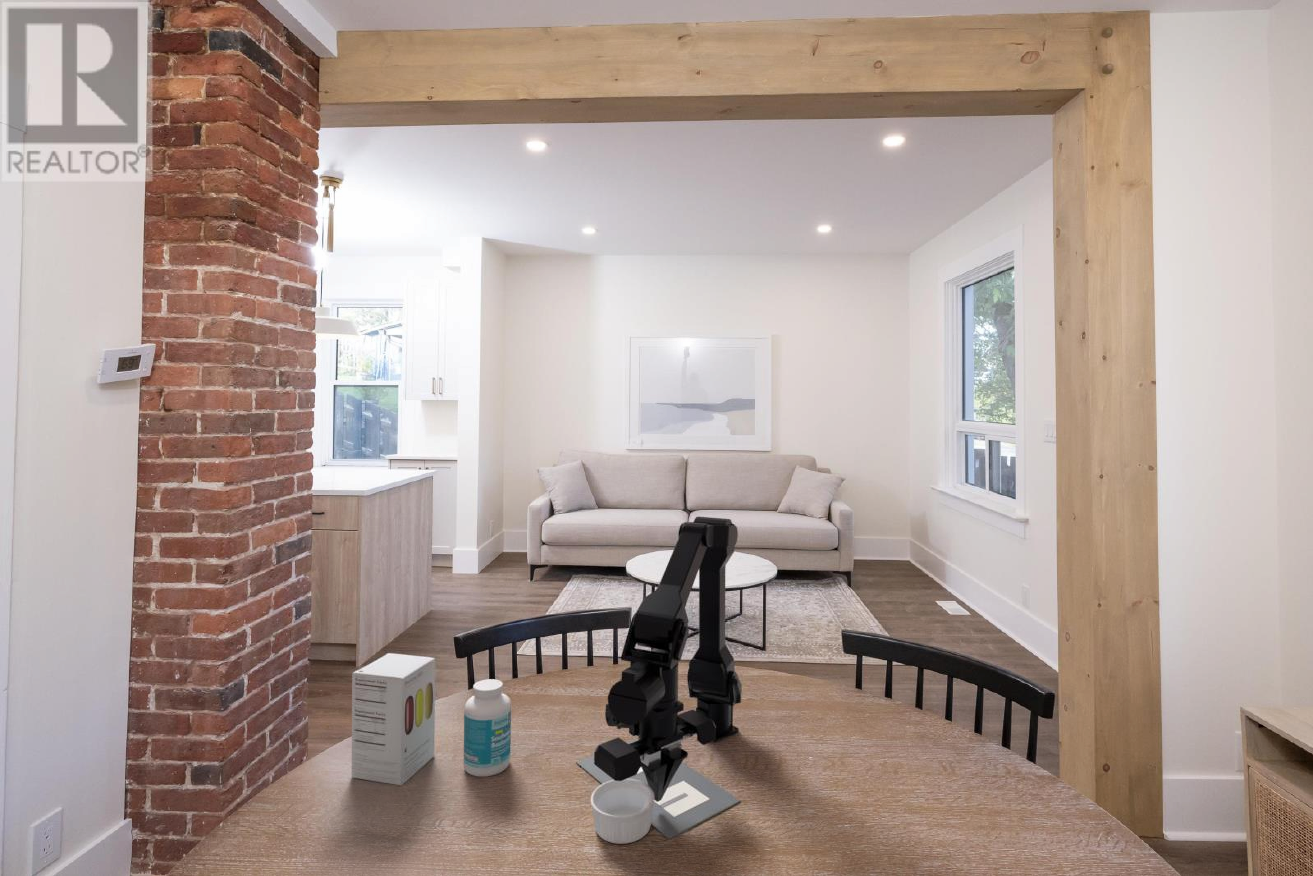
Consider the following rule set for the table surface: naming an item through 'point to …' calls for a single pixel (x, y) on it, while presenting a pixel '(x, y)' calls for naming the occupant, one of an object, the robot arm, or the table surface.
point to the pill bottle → (487, 729)
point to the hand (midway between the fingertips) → (657, 799)
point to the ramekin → (622, 810)
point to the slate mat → (677, 798)
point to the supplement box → (393, 718)
